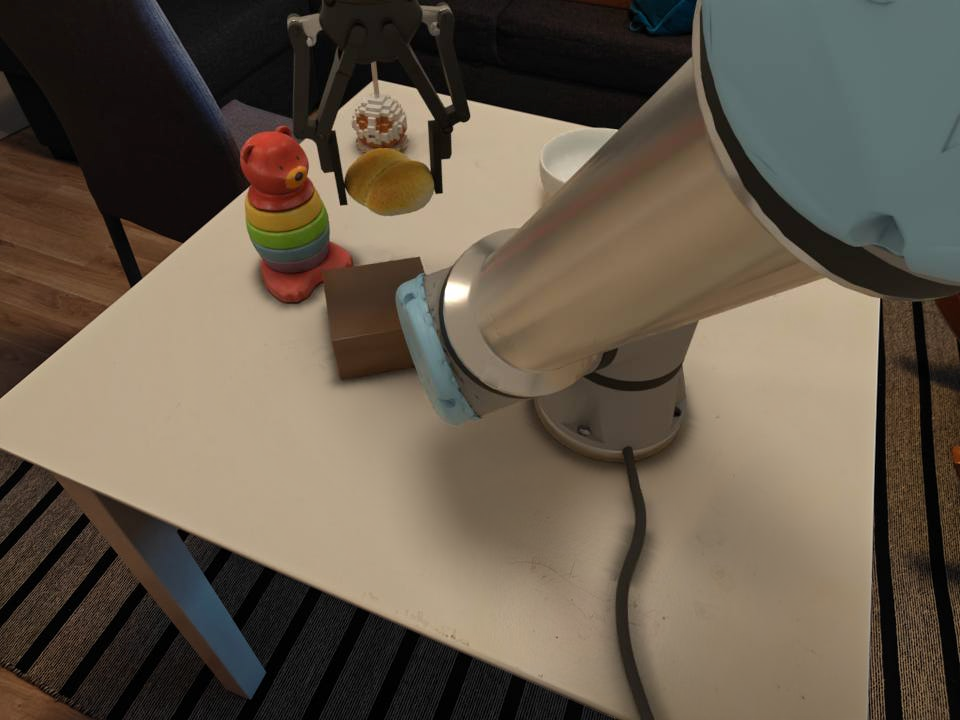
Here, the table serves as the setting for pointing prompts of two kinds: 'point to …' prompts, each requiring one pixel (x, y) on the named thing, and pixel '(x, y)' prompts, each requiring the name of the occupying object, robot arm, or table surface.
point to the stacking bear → (287, 216)
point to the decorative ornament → (379, 121)
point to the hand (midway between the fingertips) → (390, 192)
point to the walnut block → (368, 316)
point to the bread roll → (389, 182)
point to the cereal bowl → (569, 155)
